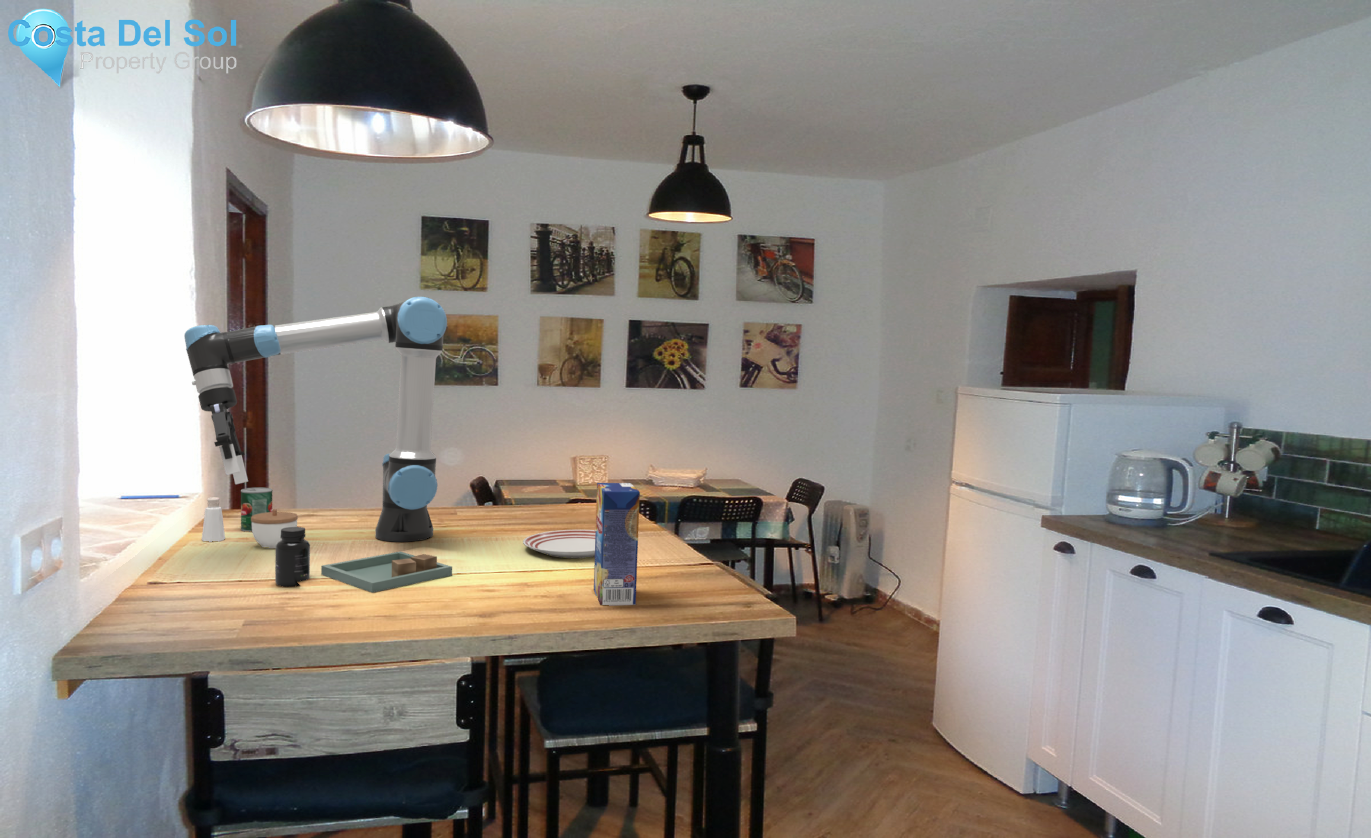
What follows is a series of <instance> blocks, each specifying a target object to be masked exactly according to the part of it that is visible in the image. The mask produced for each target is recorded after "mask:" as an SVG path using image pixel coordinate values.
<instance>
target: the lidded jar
mask: <svg viewBox="0 0 1371 838" xmlns="http://www.w3.org/2000/svg"><path fill="white" fill-rule="evenodd" d="M298 516H299V515H298V514H297V513H294V512H289V511H278V509H276V508H274V509H273V508H272V512H268V513H260V514H256V515H253V516H252V517H251V521H252V532H251V533H252V536H253V538H254V540H255V541H256V542H257V543H258V544H259V545H260V546H261V548H263V547H269V548H268V549H276V545H277V543H278V542H279V541H281V540H282V539H281V538H280V536H281V529H283V528H286V527H298V518H299V517H298Z"/></svg>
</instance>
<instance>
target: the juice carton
mask: <svg viewBox="0 0 1371 838" xmlns="http://www.w3.org/2000/svg"><path fill="white" fill-rule="evenodd" d="M640 493H641V492H640V490H639V489H637V488H636V486H635V485H633V484H632V483H631V482H596V505H595V507H596V509H595V511H596V512H595V530H596V534H595V557H594V566H593V567H594V570H593V591H594V594H595V596H597V597H596V599H597V598H598V599H597V601H598V603H599V606H600V605H609V606H636V605H637V603H636V602H637V576H638V574H637V573H638V553H639V552H638V551H639V550H638V549H639V548H638V545H639V525H640V524H639V523H640V522H639V521H640V519H639V518H640V497H641V496H640Z"/></svg>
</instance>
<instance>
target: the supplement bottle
mask: <svg viewBox="0 0 1371 838" xmlns="http://www.w3.org/2000/svg"><path fill="white" fill-rule="evenodd" d="M280 538H281V539H282V540H281V541H279V542H278V543H277V545H276V548H274V549H275V550H274V551H275V554H274V555H275V559H274V560H275V561H274V562H275V567H274V568H275V569H274V573H275V576H274V579H275V580H274V581H275V585H277V586H279V587H282V586H283V587H284V588H292V587H293V588H295V586H296V587H301V586H302V585H301V584H300V583H301V582H305V581H307V580H310V575H311V574H310V572H311V570H310V569H311V567H310V566H311V563H310V561H311V544H310V542H309V541H308V540H307V539H305V538H306V528H305V527H302V526H297V527H286V528H283V529H281V536H280Z"/></svg>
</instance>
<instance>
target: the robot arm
mask: <svg viewBox="0 0 1371 838" xmlns="http://www.w3.org/2000/svg"><path fill="white" fill-rule="evenodd" d="M447 326H448V319H447V314H446V312H445V310H444V308H443V307H442V305H441V304H440V303H438V302H437V301H436V300H434V299H432V298H430V297H425V296H414V297H411V298H408V299H407V300H404V301H402V302H400V303H396V304H393V305H388V306H381V307H379V309H378V310H377V311H372V312H367V313H365V312H364V313H359V314H350V315H342V316H335V317H329V318H321V319H313V320H305V321H299V322H289V323H283V324H276V325H273V324H265V325H256V326H251V327H246V328H241V329H236V330H231V331H225V332H224V331H223V332H221V331H220V330H219V328H218V326H216V325H214V324H206V325H205V324H201V325H200V324H199V325H197V326H193V327H191V328H188V329H187V330H186V331H185V333H184V342H185V347H186V348H185V350H186V353H187V354H186V355H187V357H188V360H189V365H190V368H191V372H192V373H191V374H192V376H193V381H192V382H191V384H192V386H195V387H196V392H197V393H198V397H197V398H198V401H199V405H200V408H201V410H202V411H204V412H209V413H210V412H211V420H212V423H213V426H214V432H215V440H216V441H214V445H215V447H219V452H220V455H221V459H222V463H223V468H224V472H225V475H226V476H228V475H233V479H234V484H235V485H239V484H243V483H247V482H249V480H248V479H249V478H248V475H247V472H246V466H245V464H244V459H243V456H245V451H242V450H241V446H240V443H239V440H238V437H237V433H236V426H235V424H234V417H233V413H232V412H231V411H228V409H230V408H233V407H235V406H236V405H237V403H238V400H237V396H236V392H235V389H234V383H233V378H232V375H231V371H230V368H229V365H230V364H237V363H242V362H247V361H248V362H249V361H252V360H259V359H262V358H265V359H267V358H270V357H274V356H280V355H286V354H294V353H300V352H309V351H315V350H322V349H329V348H336V347H343V346H349V345H356V344H364V343H372V342H378V341H383V342H385V343H386V344H391V343H395V347H394V348H395V350H396V351H397V352H398V353H399V354H400V370H399V372H400V373H399V385H398V387H399V389H398V404H397V405H398V406H397V421H396V422H397V424H396V438H395V440H396V441H395V442H396V443H395V449H394V450H392V452H390V453H386V454H384V455H383V458H382V459H383V460H382V464H381V465H382V506H381V507H382V508H381V512H380V515H379V518H378V521H377V524H376V527H375V532H374V533H375V534H374V536H375V539H377V540H380V541H386V542H396V543H397V542H399V543H402V542H403V543H404V542H415V541H423V540H428V539H430V538H433V536H434V526H433V523H432V520H431V517H430V513H429V510H428V505H429V504H430V503H431V502H432V501H433V499H434V498H435V497H436V495H437V491H438V480H437V477H436V471H437V468H436V466H437V455H435V454H434V453H433V451H432V448H431V447H432V432H433V413H434V401H435V400H434V399H435V383H436V382H435V379H436V365H437V364H436V363H437V357H438V356H440V355H441V354H442V353H443V349H444V348H443V347H444V334H445V333H446V330H447ZM429 537H430V538H429ZM427 538H428V539H427Z"/></svg>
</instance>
